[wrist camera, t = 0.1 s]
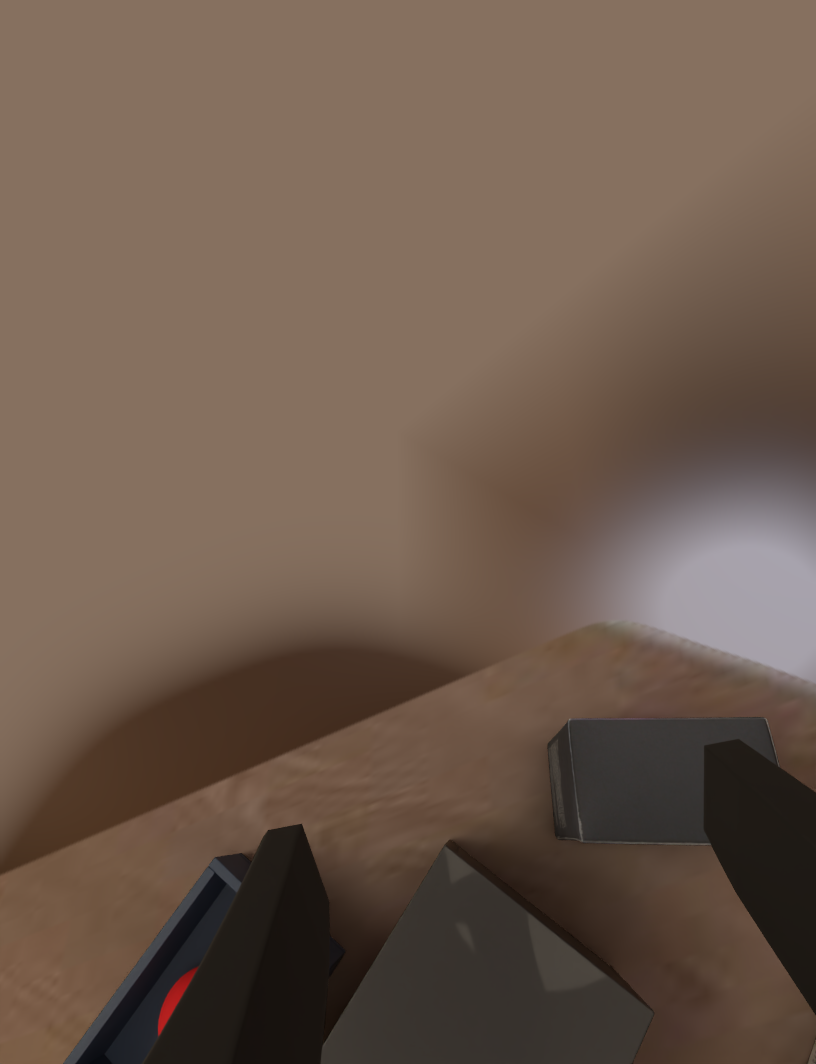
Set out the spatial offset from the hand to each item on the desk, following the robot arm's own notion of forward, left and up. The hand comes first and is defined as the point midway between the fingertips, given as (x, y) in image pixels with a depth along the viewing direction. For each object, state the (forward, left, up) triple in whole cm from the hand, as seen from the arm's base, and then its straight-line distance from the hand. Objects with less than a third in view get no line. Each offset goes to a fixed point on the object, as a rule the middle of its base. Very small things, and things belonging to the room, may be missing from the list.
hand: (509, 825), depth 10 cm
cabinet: (-10, +3, -32) cm, 34 cm away
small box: (0, -10, -32) cm, 34 cm away
